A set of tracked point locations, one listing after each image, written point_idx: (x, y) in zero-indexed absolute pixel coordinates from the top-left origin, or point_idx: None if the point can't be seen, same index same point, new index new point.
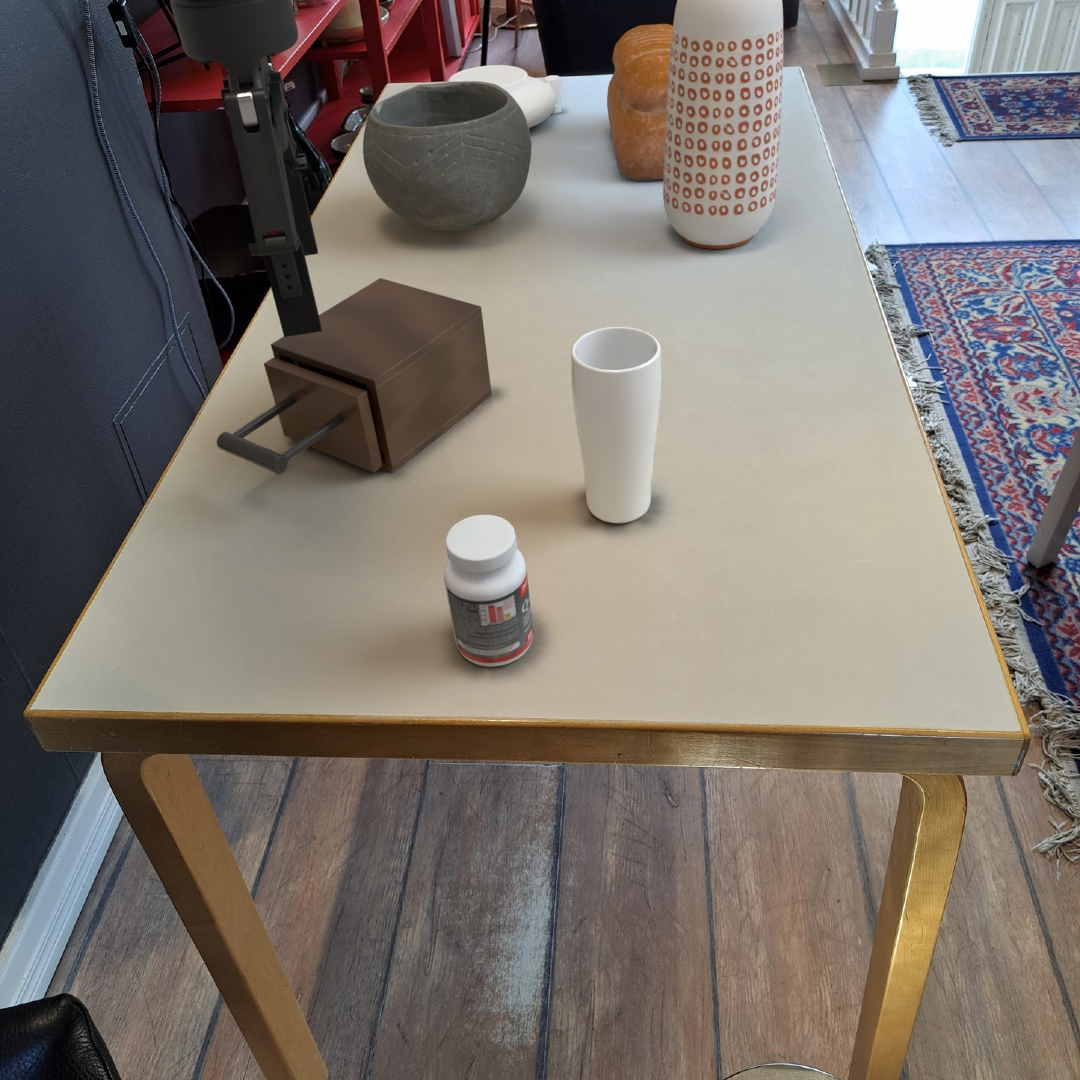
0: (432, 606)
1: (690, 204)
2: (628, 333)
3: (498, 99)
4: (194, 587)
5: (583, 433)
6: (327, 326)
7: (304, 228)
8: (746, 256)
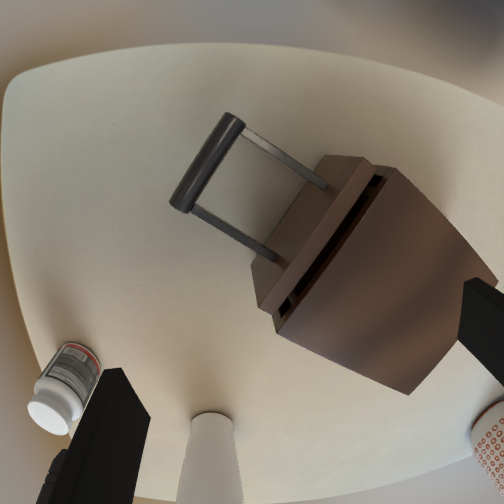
0: (97, 325)
1: (493, 431)
2: None
3: None
4: (99, 127)
5: (190, 468)
6: (424, 242)
7: (490, 356)
8: (461, 435)
